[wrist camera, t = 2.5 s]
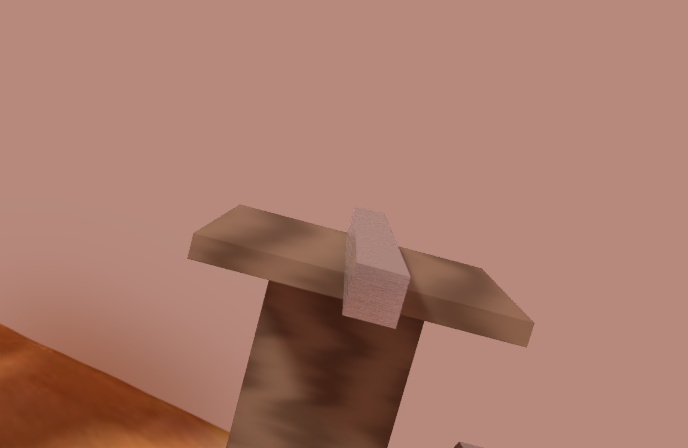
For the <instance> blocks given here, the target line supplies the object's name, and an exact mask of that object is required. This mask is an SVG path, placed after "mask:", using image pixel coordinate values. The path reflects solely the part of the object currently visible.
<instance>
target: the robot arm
mask: <svg viewBox="0 0 688 448" xmlns="http://www.w3.org/2000/svg"><path fill="white" fill-rule="evenodd" d="M454 448H481V447H478V446H474V445H470V444H466V443H463V442H459V443H458V444H457V445H455V447H454Z"/></svg>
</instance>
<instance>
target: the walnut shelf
mask: <svg viewBox="0 0 688 448" xmlns="http://www.w3.org/2000/svg"><path fill="white" fill-rule="evenodd" d="M346 237H347V233H346V232H342V231H338V230H334V229H330V228H326V227H323V226H319V225H315V224H312V223H307V222H304V221H300V220H296V219H293V218H289V217H285V216H281V215H278V214H274V213H270V212H266V211H262V210H258V209H255V208H251V207H247V206H244V205H238V206H237V207H235V208H233V209H232V210H230V211H229V212H227V213H225V214H224V215H222V216H221V217H219V218H218V219H216V220H214V221H212V222H211V223H209V224H208V225H206V226H204V227H203V228H201V229H200V230H198V231H196V232H195V233H194V234H193V237H192V241H191V246H190V250H189V254H188V259H191V260H195V261H198V262H203V263H206V264H210V265H214V266H217V267H221V268H225V269H229V270H233V271H237V272H240V273H245V274H248V275H252V276H256V277H259V278H263V279H267V280H269V282H268V286H267V290H266V294H265V298H264V302H263V306H262V310H261V313H260V317H259V321H258V325H257V329H256V333H255V337H254V341H253V345H252V349H251V353H250V356H249V361H248V365H247V369H246V373H245V376H244V380H243V384H242V388H241V392H240V396H239V400H238V404H237V408H236V411H235V416H234V420H233V423H232V427H231V431H230V435H229V439H228V443H227V447H226V448H387V447H388V443H389V440H390V436H391V433H392V429H393V426H394V422H395V419H396V416H397V412H398V409H399V406H400V402H401V399H402V395H403V392H404V388H405V385H406V382H407V378H408V375H409V371H410V368H411V364H412V361H413V358H414V354H415V350H416V347H417V344H418V341H419V337H420V334H421V330H422V327H423V324H424V321H428V322H431V323H435V324H439V325H443V326H447V327H451V328H454V329H459V330H462V331H466V332H469V333H473V334H477V335H481V336H485V337H489V338H492V339H496V340H500V341H504V342H508V343H511V344H515V345H519V346H523V347H527V345H528V342H529V338H530V335H531V332H532V329H533V326H534V322H533V321H532V320H531V319H530V318H529V317H528V316H527V315H526V314H525V313H524V312H523V311H522V310H521V309H520V308H519V307H518V306H517V305H516V303H515V302H514V301H513V300H511V298H510V297H508V295H507V294H506V293H505V292H504V291H503V290H502V289H501V288H500V287H499V286H498V285H497V284H496V283H495V282H494V281H493V280H492V279H491V278H490V277H489V276H488V275H487V274H486V273H485V272H484V271H483V269H481V268H478V267H474V266H470V265H467V264H463V263H459V262H455V261H451V260H448V259H444V258H440V257H436V256H432V255H429V254H425V253H421V252H417V251H413V250H410V249H406V248H402V247H398V248H399V250H400V252H401V255H402V257H403V260H404V262H405V264H406V267H407V269H408V272H409V274H410V281H409V284H408V288H407V291H406V295H405V298H404V302H403V305H402V309H401V312H400V316H399V319H398V323H397V326H396V329H394V328H390V327H386V326H382V325H378V324H374V323H371V322H367V321H363V320H359V319H355V318H351V317H348V316H344V315H342V311H343V293H344V274H345V255H346Z"/></svg>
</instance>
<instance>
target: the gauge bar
mask: <svg viewBox="0 0 688 448" xmlns="http://www.w3.org/2000/svg"><path fill="white" fill-rule="evenodd" d="M409 281H410V274H409V272H408V269H407V267H406V264H405V262H404V260H403V257H402V255H401V252H400V250H399V248H398V245H397V243H396V240H395V238H394V235H393V233H392V231H391V228H390V226H389V224H388V221H387V219H386V217H385V214H383V213H379V212H375V211H371V210H368V209H364V208H360V207H356V206H355V207H354V210H353V214H352V218H351V221H350V225H349V229H348V232H347V237H346V255H345V274H344V293H343V311H342V315H344V316H348V317H351V318H355V319H359V320H363V321H367V322H371V323H374V324H378V325H382V326H386V327H390V328H394V329H396V326H397V323H398V319H399V316H400V312H401V309H402V305H403V302H404V298H405V295H406V291H407V288H408V284H409Z"/></svg>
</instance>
